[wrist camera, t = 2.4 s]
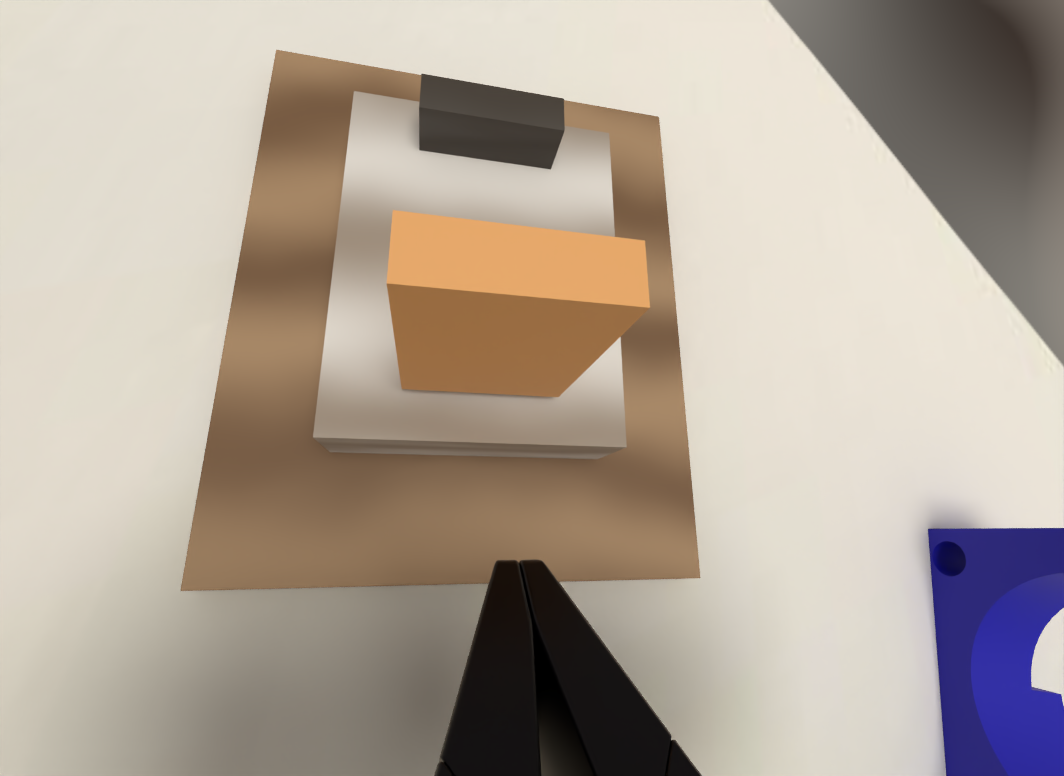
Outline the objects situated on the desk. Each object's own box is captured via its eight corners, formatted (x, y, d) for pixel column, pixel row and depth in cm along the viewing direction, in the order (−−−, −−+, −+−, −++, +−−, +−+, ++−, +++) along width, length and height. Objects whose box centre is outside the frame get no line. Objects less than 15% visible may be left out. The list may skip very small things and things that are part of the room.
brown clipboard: (687, 575, 20) (789, 593, 15) (193, 587, 17) (77, 616, 11) (650, 131, 26) (712, 22, 21) (282, 69, 23) (236, -83, 17)
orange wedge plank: (557, 354, 17) (558, 397, 16) (405, 343, 16) (401, 388, 15) (645, 240, 10) (650, 307, 10) (392, 210, 9) (386, 283, 9)
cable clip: (1040, 847, 20) (1275, 968, 15) (947, 838, 20) (1156, 961, 14) (1004, 545, 24) (1181, 549, 18) (925, 528, 23) (1083, 527, 18)
